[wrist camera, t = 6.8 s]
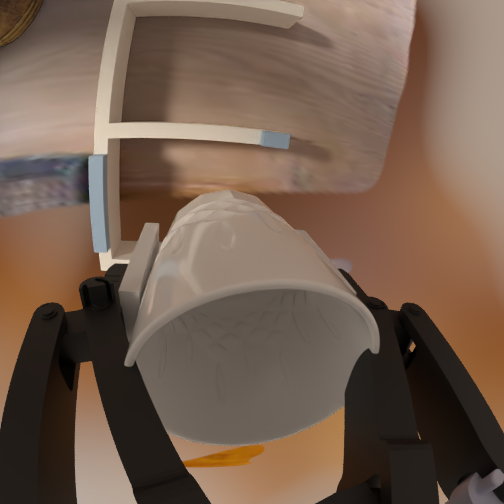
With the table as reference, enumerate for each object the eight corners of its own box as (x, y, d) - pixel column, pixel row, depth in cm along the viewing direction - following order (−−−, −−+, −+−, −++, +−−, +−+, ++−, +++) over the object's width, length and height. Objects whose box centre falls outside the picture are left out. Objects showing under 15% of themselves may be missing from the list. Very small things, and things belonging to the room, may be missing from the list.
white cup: (147, 289, 17) (124, 436, 8) (173, 162, 14) (132, 247, 5) (265, 310, 19) (312, 442, 10) (310, 200, 16) (423, 302, 7)
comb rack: (111, 250, 27) (97, 277, 23) (126, 7, 17) (112, -13, 12) (255, 255, 31) (266, 282, 26) (289, 19, 20) (309, 1, 15)
